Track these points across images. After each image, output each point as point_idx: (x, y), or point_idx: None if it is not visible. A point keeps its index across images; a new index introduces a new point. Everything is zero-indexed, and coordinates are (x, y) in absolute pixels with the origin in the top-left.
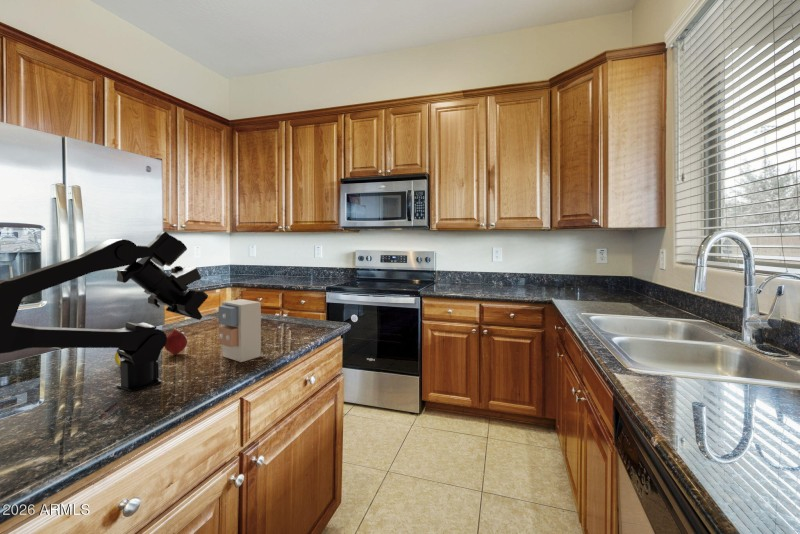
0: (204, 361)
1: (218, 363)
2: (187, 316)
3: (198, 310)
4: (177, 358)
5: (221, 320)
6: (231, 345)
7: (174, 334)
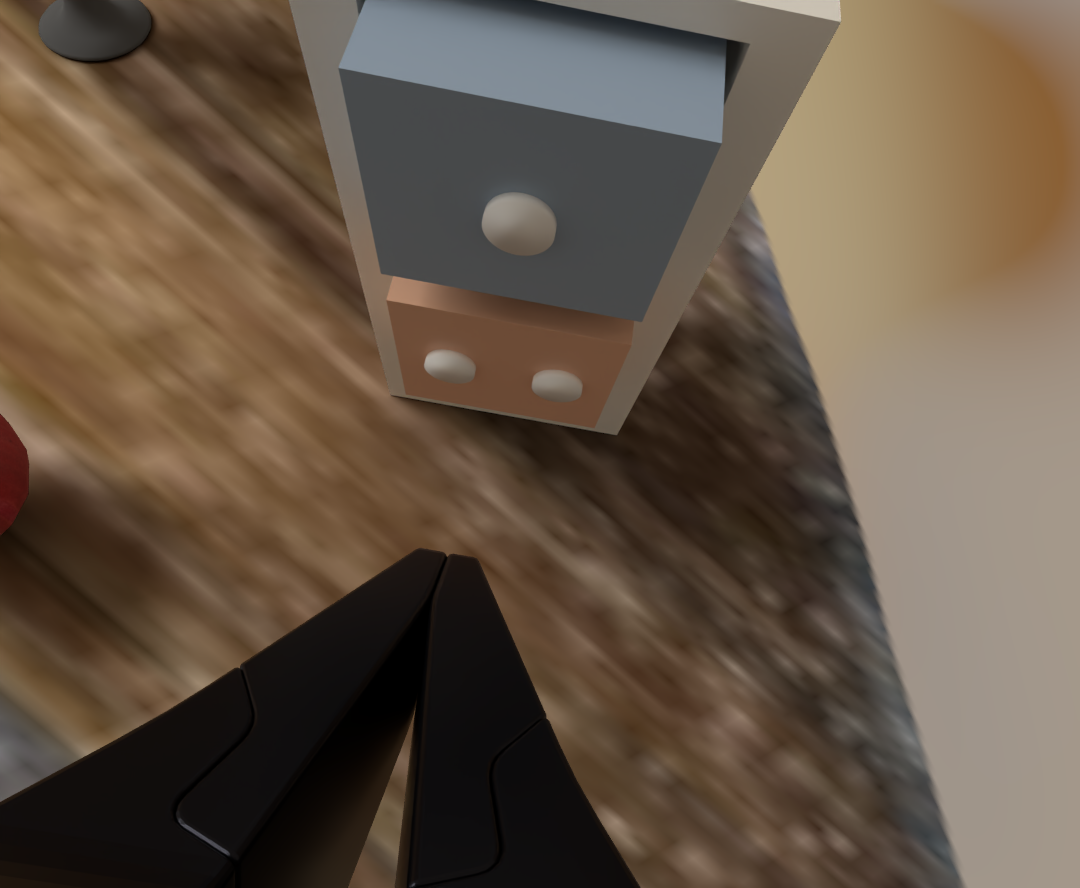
0: (359, 532)
1: (495, 520)
2: (350, 865)
3: (520, 668)
4: (79, 574)
5: (440, 256)
6: (597, 420)
7: None
